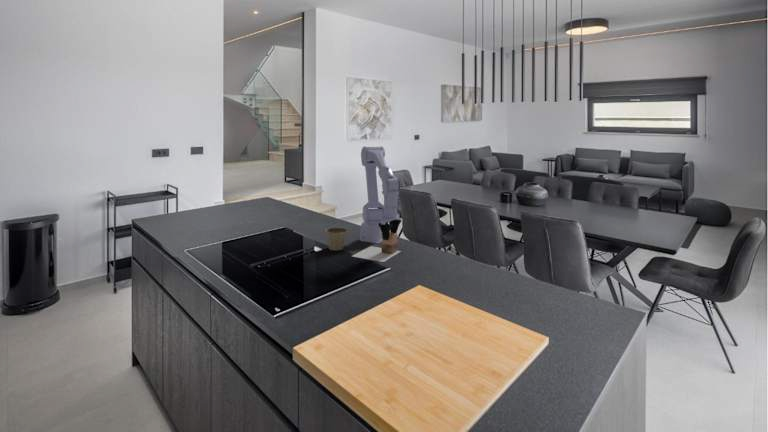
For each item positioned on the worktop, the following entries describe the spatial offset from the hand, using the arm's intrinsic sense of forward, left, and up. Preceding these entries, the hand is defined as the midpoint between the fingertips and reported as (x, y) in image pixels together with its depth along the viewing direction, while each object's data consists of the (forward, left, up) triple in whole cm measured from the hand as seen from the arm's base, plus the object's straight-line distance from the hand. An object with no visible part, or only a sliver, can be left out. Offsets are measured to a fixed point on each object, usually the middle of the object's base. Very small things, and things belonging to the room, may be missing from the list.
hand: (389, 237), depth 183 cm
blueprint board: (-3, -5, -7) cm, 9 cm away
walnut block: (0, 0, -6) cm, 6 cm away
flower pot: (-22, -7, -7) cm, 25 cm away
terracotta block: (0, 0, -2) cm, 2 cm away
